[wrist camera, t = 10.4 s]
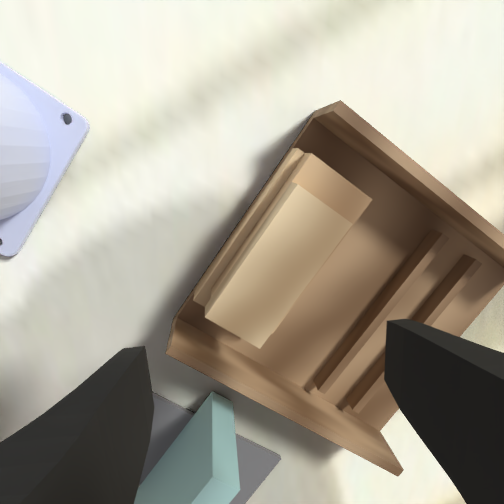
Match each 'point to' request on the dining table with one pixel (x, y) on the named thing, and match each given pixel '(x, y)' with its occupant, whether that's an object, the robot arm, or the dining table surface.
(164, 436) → the mat
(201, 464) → the teal rectangular block
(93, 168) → the dining table surface
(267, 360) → the rack
